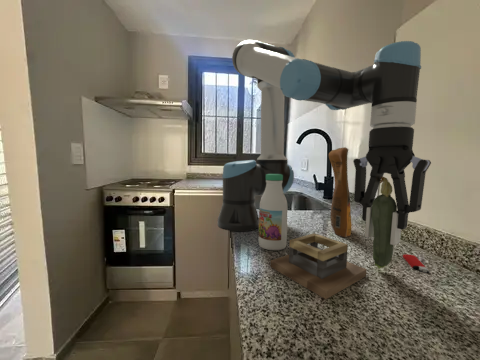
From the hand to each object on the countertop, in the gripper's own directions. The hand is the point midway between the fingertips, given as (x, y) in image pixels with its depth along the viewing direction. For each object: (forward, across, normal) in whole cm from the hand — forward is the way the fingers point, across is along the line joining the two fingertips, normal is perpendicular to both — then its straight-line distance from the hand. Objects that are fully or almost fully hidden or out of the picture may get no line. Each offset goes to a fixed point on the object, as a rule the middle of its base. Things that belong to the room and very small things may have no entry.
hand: (381, 239), depth 48 cm
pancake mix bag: (+8, -22, +20) cm, 30 cm away
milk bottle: (+8, -24, -9) cm, 27 cm away
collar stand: (+7, -8, -11) cm, 15 cm away
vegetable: (+7, 0, 0) cm, 7 cm away
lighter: (+8, +3, +11) cm, 14 cm away
